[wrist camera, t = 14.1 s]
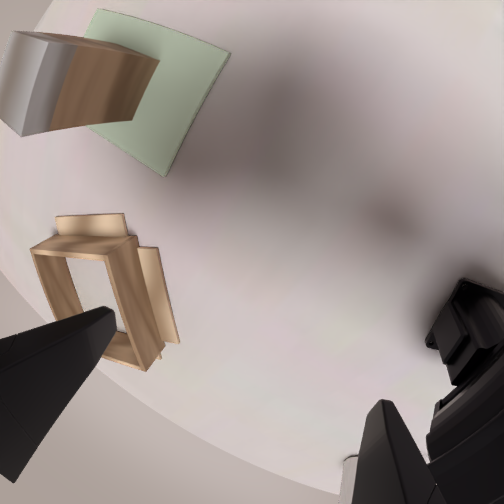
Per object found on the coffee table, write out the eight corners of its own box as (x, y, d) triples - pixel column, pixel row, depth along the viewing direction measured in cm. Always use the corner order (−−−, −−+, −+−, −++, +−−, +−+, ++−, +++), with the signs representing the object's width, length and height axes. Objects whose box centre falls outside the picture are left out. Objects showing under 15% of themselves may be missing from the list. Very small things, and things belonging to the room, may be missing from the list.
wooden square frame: (151, 212, 23) (121, 230, 19) (186, 363, 29) (169, 390, 25) (42, 217, 27) (16, 230, 23) (81, 334, 33) (63, 352, 30)
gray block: (160, 60, 17) (48, 42, 8) (132, 120, 19) (21, 137, 11) (116, 43, 17) (11, 30, 8) (92, 98, 19) (-11, 108, 11)
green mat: (231, 53, 16) (229, 52, 16) (166, 176, 21) (163, 177, 21) (100, 9, 16) (97, 8, 16) (59, 107, 21) (56, 107, 20)
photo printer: (421, 452, 27) (421, 533, 16) (410, 465, 29) (407, 539, 18) (347, 453, 30) (334, 538, 19) (341, 465, 31) (327, 542, 20)
